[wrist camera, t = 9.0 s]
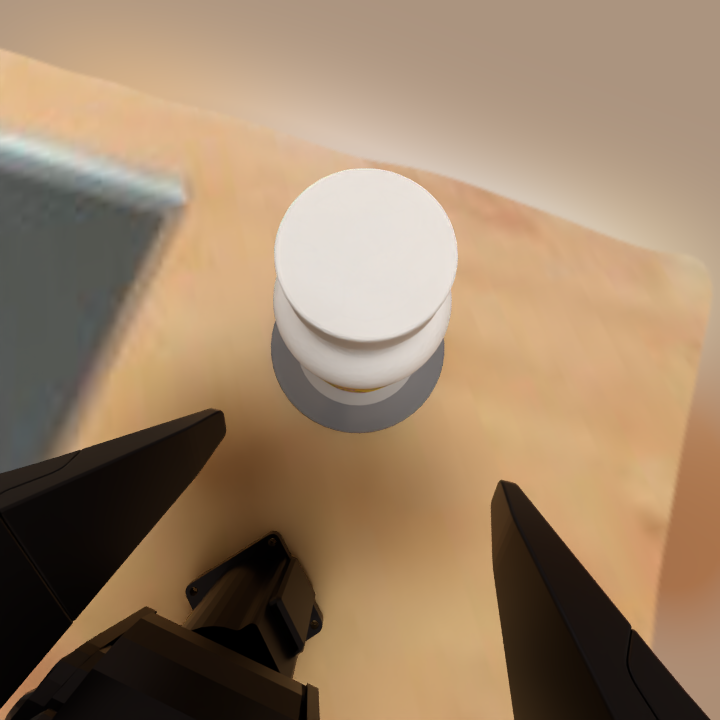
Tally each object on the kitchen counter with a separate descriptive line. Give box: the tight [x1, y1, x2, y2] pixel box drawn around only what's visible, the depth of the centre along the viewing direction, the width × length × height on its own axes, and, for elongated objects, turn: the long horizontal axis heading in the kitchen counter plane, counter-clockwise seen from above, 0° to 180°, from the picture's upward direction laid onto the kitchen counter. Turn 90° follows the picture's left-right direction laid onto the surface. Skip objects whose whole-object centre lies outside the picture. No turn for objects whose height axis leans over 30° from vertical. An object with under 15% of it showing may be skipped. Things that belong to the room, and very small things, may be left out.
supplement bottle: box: [273, 168, 458, 393], centre depth 14 cm, size 7×7×13 cm
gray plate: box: [271, 321, 444, 433], centre depth 20 cm, size 12×12×1 cm
